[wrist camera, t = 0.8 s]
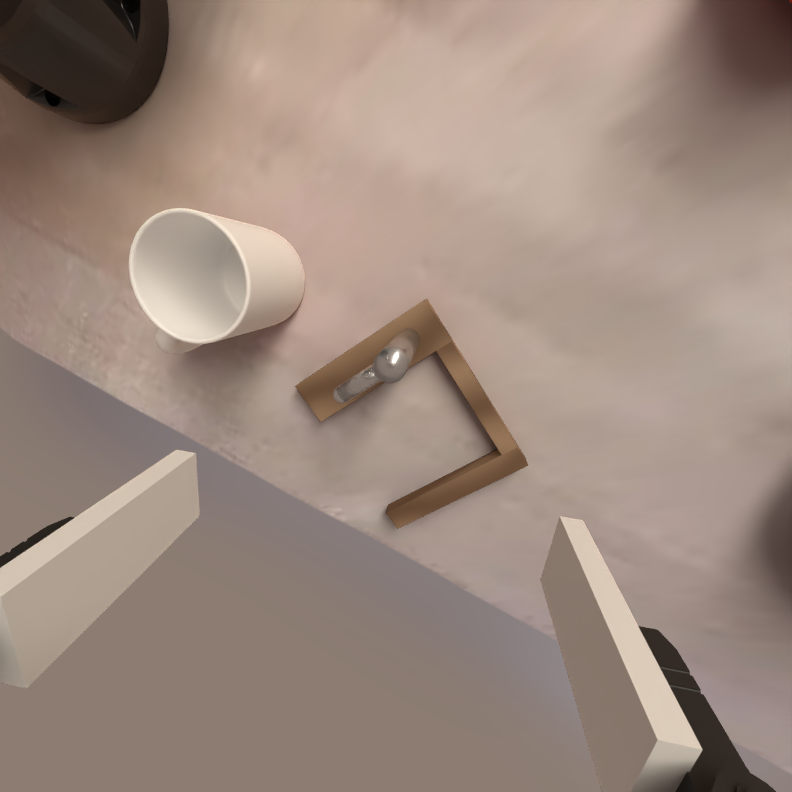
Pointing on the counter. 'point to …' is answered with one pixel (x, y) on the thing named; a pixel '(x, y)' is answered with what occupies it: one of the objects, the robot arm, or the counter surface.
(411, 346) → the hook post
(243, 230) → the mug
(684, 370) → the counter surface
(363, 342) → the brown wooden u-shaped piece
